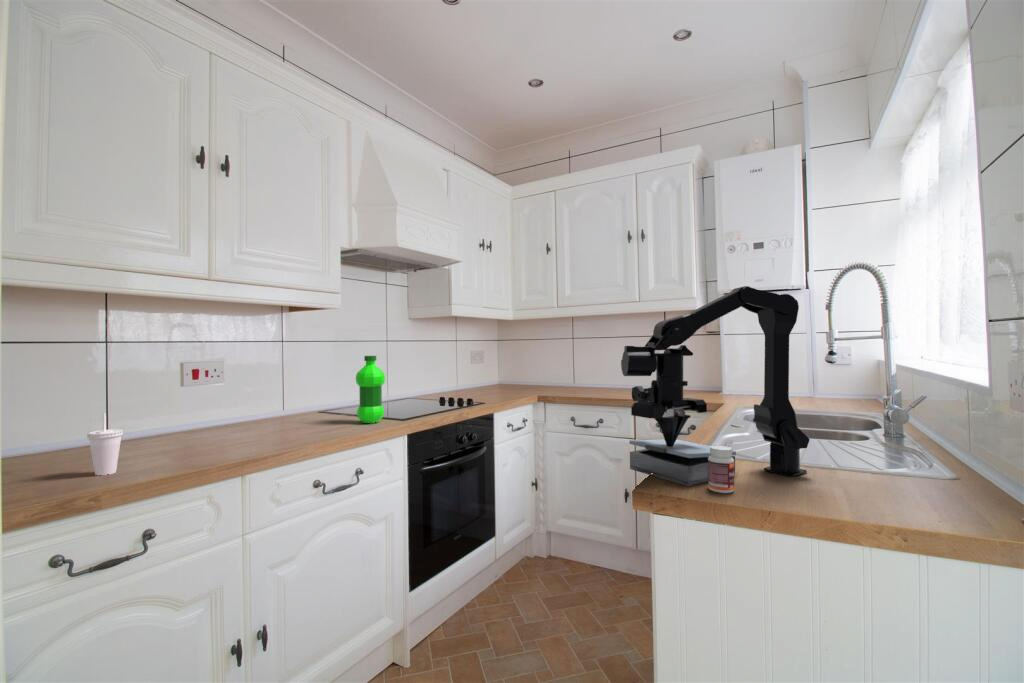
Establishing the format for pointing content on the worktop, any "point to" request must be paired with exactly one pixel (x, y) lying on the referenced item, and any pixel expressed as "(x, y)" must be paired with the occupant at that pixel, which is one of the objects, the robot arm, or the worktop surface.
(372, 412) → the plastic bottle
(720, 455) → the pill bottle
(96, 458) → the smoothie
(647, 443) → the lid
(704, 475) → the grey lidded case
